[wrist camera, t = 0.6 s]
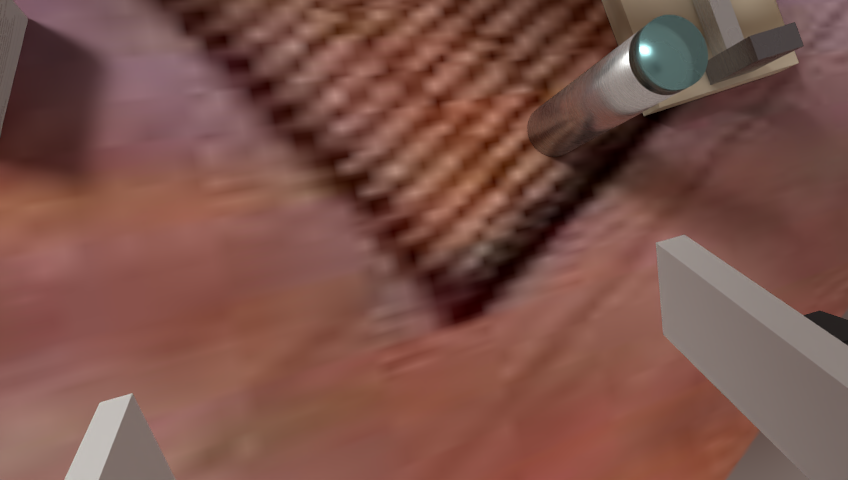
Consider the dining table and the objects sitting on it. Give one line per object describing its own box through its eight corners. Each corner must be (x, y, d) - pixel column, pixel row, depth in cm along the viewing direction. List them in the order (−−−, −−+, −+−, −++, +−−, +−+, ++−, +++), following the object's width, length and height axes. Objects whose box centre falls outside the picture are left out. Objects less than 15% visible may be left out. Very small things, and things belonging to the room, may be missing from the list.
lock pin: (667, -32, 45) (710, -70, 41) (710, -43, 46) (756, -81, 41) (710, 85, 45) (758, 60, 40) (752, 71, 46) (803, 45, 41)
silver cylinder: (520, 112, 44) (629, 24, 30) (566, 98, 45) (692, 6, 31) (538, 163, 44) (655, 97, 30) (584, 148, 45) (718, 77, 31)
